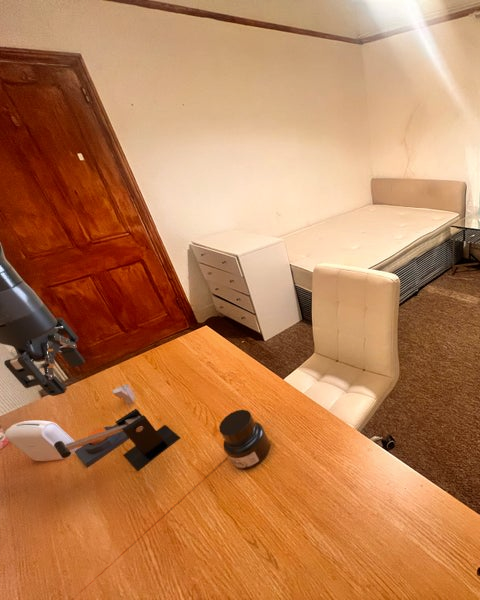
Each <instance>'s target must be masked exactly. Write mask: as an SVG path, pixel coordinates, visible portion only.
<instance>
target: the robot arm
mask: <svg viewBox="0 0 480 600" xmlns="http://www.w3.org/2000/svg"><path fill="white" fill-rule="evenodd" d="M64 335H67V336H68V337H65V336H64ZM76 342H79V336H77V334H76V332H74V330H73V329H72V328H71V327H70V326H69V324H68V323H67V322H66V321H65V320H64V319H63V318H62V317H58V318H56V317H55V316H54V314H52V312H51V311H50V310H49V308H48V307H47V305H46V304H45V303H44V302H43V301H42V299H41V298H40V297H39V296H38V294H37V293H36V291H34V289H33V288H32V287H31V286H30V285H28V283H26V281H25V280H24V279H23V278H22V277H21V276H20V275H19V273H18V272H17V270H15V268H14V267H13V266H12V264H11V263H10V262H9V260H8V259H7V257H6V256H5V252H4V248H3V246H2V243H1V242H0V344H1V345H4V346H10V347H13V348H14V350H15V352H16V355H15V356H14V357H13V358H10V359H6V360H4V363H3V364H4V366H5V367H6V368H7V369H8V371H10V373H11V374H12V375H13V376H14V377H15V379H16V380H18V382H19V383H20V384H21V385H22V387H24V388H25V389H30V388H33V387H37V386H40V387H41V388H42V389H43V390H44V391H45V393H47V395H49V396H51V397H55V396H60V395H62V394H65V393H66V392H67V390H68V389H67V387H66V386H65V385H64V383H63V382H61V380H59V378H58V377H57V376H56V375H55V374H54V368H53V367H54V366H55V365H56V362H55V357H56V355H57V353H60V355H61V356H62V358H63V359H64V360H65V361H66V362H67V364H68V365H69V366H70V367H72V368H75V367H79V366H83V365H84V364H85V363H86V360H85V359H84V357H83V355H81V353H80V352H79V351H78V349H77V347H78V346H77V343H76ZM42 362H43V363H42ZM35 363H39V364H35ZM42 369H43V371H44V373H43V372H42V371H41V370H42ZM29 376H30V378H29Z"/></svg>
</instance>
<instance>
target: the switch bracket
mask: <svg viewBox="0 0 480 600" xmlns="http://www.w3.org/2000/svg"><path fill="white" fill-rule="evenodd" d="M136 416H140V418H138V419H137V420H135V421H134V422H132V423H131V424H129V425H128V426H126V427H125V428H123V430H124V431H123V432H124V433H125V434H126V435H127V436H128V437H129V439H128V440H130V441H131V442H132V444H133V445H134V446H133V447H132V448H130V449H129V450H127V451H126V452H125V453H123V454H122V456H123V457H124V459H126V460H127V461H128V463H130V465H131V466H132V467H133V468H134V469H135V470H136V471H137V472H139V471H140V470H142V469H143V468H144V467H145V466H147V465H148V464H150V463H151V462H152V461H154V460H155V459H156V458H157V457H158V456H160V455H161V454H162V453H164V452H165V451H166V450H167V449H169V448H170V447H172V446H173V445H174V444H175V443H176V442H177V441H179V440H181V437H180V436H179V435H178V434H177V433H176V432H174V431H173V430H172V429H171V428H170V427H169V426H167V425H166V424H163V425H162V426H161V427H159V428H158V429H156V428H155V427H154V426H153V425H152V423H151V421H149V420H148V418H147V417H146V416H145V415H142V413H141V412H140V411H139V410H138V408H134V409H133V410H131V411H130V412H128V413H127V414H125V415H124V416H122V417H121V418H118V419H117V420H116V421H115V425H116V424H117V425H118V426H121V425H124V424H125V420H127V419H130V418H133V417H136Z"/></svg>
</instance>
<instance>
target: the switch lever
mask: <svg viewBox="0 0 480 600" xmlns="http://www.w3.org/2000/svg"><path fill="white" fill-rule="evenodd" d="M138 418H140V416H136V417H133V418H130V419H127V420H125V424H124V425H121V426H118V427H115V428H113V429H110V430H107V431H104V432H101V433H98V434H95V435H92V436H89V437H88V436H86V437H84V438H81V439H78V440H74V441H75V442H72V443H69V444H66V445H65V444H64V443H63V442H62V441H58V442H56V443H55V444H54V447H55V448H56V450H57V451H58V452H59V454H60V455H61V457H62V458H66V459H68V458H69V457H71V456H70V454H71V452H70V451H69V450H72V449H74V448H77V447H78V448H80V447H82V446H83V445H86V444H88V443H91V442H94V441H97V440H99V439H102V438H105V437H108V436H111V435H113V434H116V433H119V432H122V431H124V430H123V428H125V427H126V426H128V425H129V424H131V423H132V422H134V421H135V420H137V419H138ZM67 457H68V458H67Z"/></svg>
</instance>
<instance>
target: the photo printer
mask: <svg viewBox="0 0 480 600" xmlns="http://www.w3.org/2000/svg"><path fill="white" fill-rule="evenodd" d="M4 436H5V439H6V440H7V441H9V442H10V443H11V444H12V445H14V446H15V447H16V448H17V449H19V450H20V451H21V452H22V453H23V454H25V455H26V456H28V457H29V458H30V459H31V460H33V461H35V462H51V461H58V460H66V459H68V458H69V457H71V456H72V455H74V454H76V453H75V452H74V451H76V450H77V449H79V447H77V448H74V449H72V450H69V451H70V452H71V454H70V456H69V457H67V458H62V457H61V455H60V454H59V452H58V451H57V450H56V448H55V447H54V444H55V443H56V442H58V441H62V442H63V443H64V444H65V445H66V444H69V443H72V442H75V441H76V440H74V439H73V438H72V437H71V436H70V435H69V433H67V432H66V431H65V430H64V429H63V428H62V427H61V426H60V425H58V424H57V423H56V422H54V421H50V420H41V419H40V420H39V419H36V420H35V419H33V420H32V419H31V420H24V421H19V422H17V423H13V424H11V426H10V427H8V428H6V430H5V434H4Z"/></svg>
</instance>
